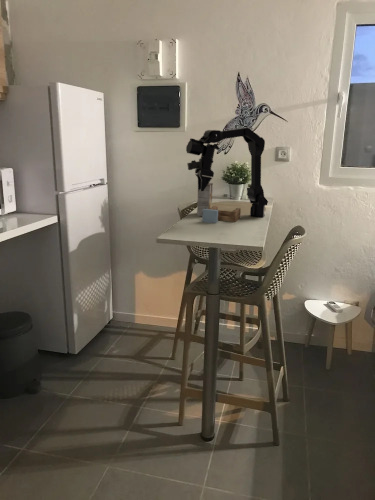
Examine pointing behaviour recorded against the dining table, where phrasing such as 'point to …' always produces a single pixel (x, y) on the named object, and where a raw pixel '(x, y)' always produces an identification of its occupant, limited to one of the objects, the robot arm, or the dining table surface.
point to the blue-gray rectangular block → (210, 216)
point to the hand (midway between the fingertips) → (200, 190)
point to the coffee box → (204, 199)
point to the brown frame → (228, 214)
